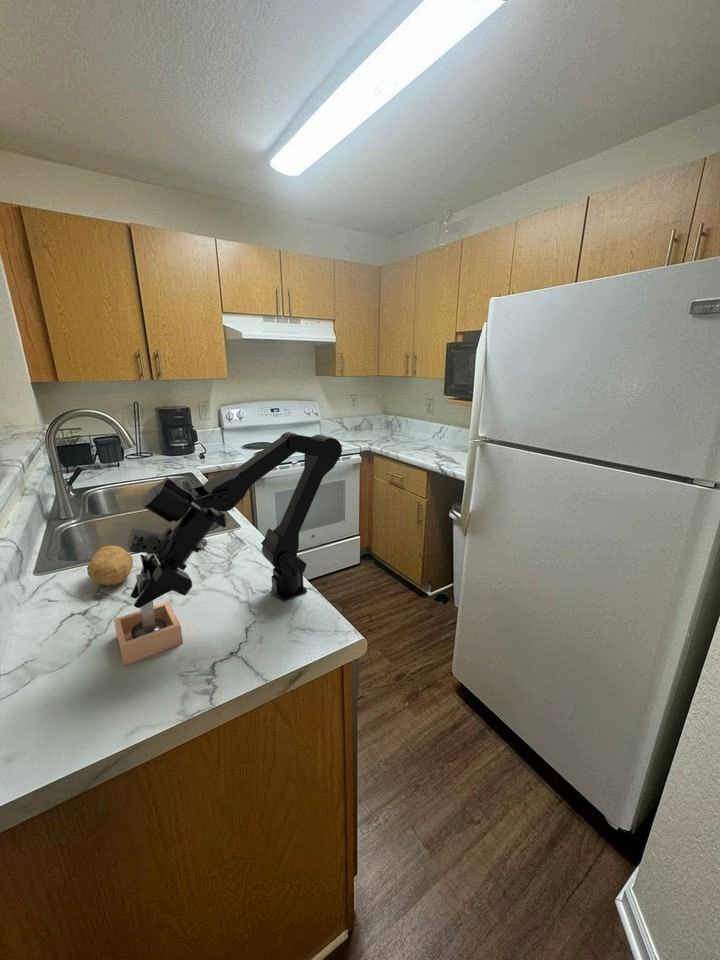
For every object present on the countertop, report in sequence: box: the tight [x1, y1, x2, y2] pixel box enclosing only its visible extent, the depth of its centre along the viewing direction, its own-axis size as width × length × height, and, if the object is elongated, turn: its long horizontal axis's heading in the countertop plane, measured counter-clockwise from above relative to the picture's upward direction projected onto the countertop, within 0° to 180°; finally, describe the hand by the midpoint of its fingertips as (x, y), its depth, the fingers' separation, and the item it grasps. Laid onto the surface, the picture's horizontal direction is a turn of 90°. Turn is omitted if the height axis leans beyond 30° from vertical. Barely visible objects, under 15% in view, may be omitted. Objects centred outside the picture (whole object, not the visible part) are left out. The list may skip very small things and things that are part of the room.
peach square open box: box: [113, 601, 184, 667], centre depth 75 cm, size 10×10×4 cm
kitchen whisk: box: [198, 538, 237, 568], centre depth 114 cm, size 6×34×6 cm, turn 45°
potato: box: [86, 545, 134, 586], centre depth 96 cm, size 10×14×8 cm
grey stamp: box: [131, 573, 166, 639], centre depth 74 cm, size 6×6×12 cm
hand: (134, 602), depth 73 cm, fingers open, 4 cm apart
